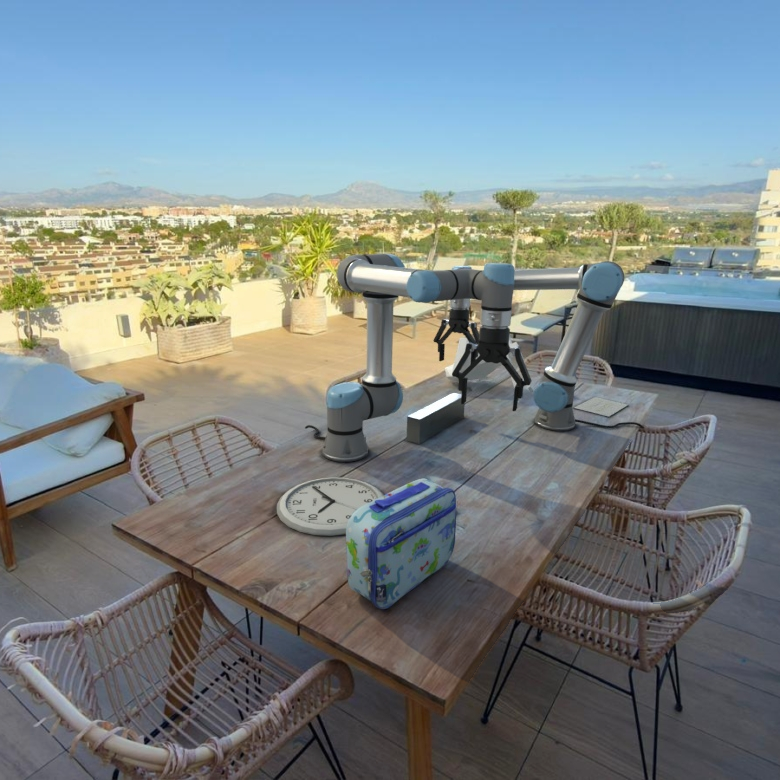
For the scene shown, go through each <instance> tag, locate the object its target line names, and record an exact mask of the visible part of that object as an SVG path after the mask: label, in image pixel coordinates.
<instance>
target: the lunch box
mask: <svg viewBox="0 0 780 780" xmlns="http://www.w3.org/2000/svg"><path fill="white" fill-rule="evenodd" d="M456 498H457V496H456V493H455V491H454V489H452V488H450V487H443V486H441V485H439V484H438V483H436V482H433V481H432V480H430V479H427V478H423V477H422V478H418V479H416V480H413V481H411V482H409V483H406V484H405V485H402V486H400V487H398V488H396V489H394V490H392V491H390V492H388V493H386V494H384V496H382V497H380V498H378V499H376V500H374V501H372V502H370V503H368V504H366V505H364V506H362V507H360V508H358V509H357V510H356V511H355V512H354V513H353V514H352V515H351V517H350V519H349V521H348V524H347V528H346V534H345V547H346V549H345V550H346V572H347V573H346V575H347V584H348V587H349V589H350V590H351V591H353V592H355V593H357V594H358V595H361V596H363V597H364V598H365V599H367V600H368V601H369V602H371V604H372V605H373V606H374V607H376V608H377V609H380V610H386V609H389V608H391V607H393V605H395V603H397V602H398V601H399V600H400V599H402V598H403V597H404V596H405V595H408V593H410V592H411V591H412V590H413V589H415V588H416V587H417V586H419V585H420V584H421V583H423V581H424V580H425V579H427V578H428V577H430V576H431V575H433V574H435V573H437V572H438V571H439V570H441V569H442V568H443V567H444V566H446V564H447V563H448V562H449V560H450V559H451V556H452V555H453V552H454V548H455V544H456V531H457V530H456V529H457V508H456V505H457V499H456Z"/></svg>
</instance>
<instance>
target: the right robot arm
mask: <svg viewBox="0 0 780 780" xmlns="http://www.w3.org/2000/svg"><path fill="white" fill-rule="evenodd" d="M454 268H468V269H473V268H472V266H470V265H469V266H468V265H454V266H453V267H452V268H451V270H452V269H454ZM514 281H515V284H514V290H513V291H540V290H541V291H547V290H554V291H555V290H578V292H577V294H576V299H577V306H576V308H575V311H574V313H573V315H572V318H571V320H570V322H569V324H568V327H567V329H566V332H565V334H564V336H563V339H562V341H561V343H560V345H559V348H558V350H557V352H556V354H555V357H554V359H553V361H552V364H551V365H548V366H546V367H545V368H544V371H543V374H542V375H541V378H540V380H539V383H538V384H537V385H536V387H535V388H534V389H533V390H534V392H533V401H534V403H535V405H536V406H537V407H538V410H537V411H536V413H535V417H534V424H535V425H536V426H537V427H539V428H542V429H544V430H549V431H556V432H567V431H572V430H574V429H575V428H576V423H580V424H585V425H588V426H589V425H590V426H593V427H599V428H604V429H614V428H617V427H619V426H627V425H633V426H638V427H639V428H640V429H645V427H644V426H643V424H641V423H639V422H635V421H625V422H623V421H622V422H618V423H616V424H613V425H607V424H600V423H594V422H590V421H587V420H582V419H576V418H575V417H576V416H575V413H574V407H573V405H574V398H575V389H576V384H577V382H578V380H577V379H578V377H577V376H578V375H577V372H578V369H579V367H580V365H581V362H582V361H583V358H584V357H585V355H586V352H587V350H588V348H589V345H590V343H591V341H592V339H593V337H594V334H595V332H596V330H597V329H598V326H599V324H600V322H601V319H602V317H603V315H604V313H605V312H607V311H609V310H611V309H612V307H613V305H614V303H615V300H616V298H617V296H618V294H619V292H620V290H621V288H622V287H623V285H624V283H625V272H624V270H623V268H622V267H621V265H619V264H618V263H616V262H614V261H611V260H610V261H608V260H606V261H600V262H597V263H588V264H587V263H586V264H582V265H581V266H579V267H558V268H555V267H554V268H531V269H529V268H528V269H515V272H514ZM470 307H471V299H456V300H449V312H448V313H449V314H448V318H449V319H447V318H444V319H441V322H440V326H439V327H438V330H437V332H436V334H435V336H434V338H433V339H432V340H433V343H435V344H437V353H439V354H438V362H443V361H445V349H446V348H445V347H446V346H445V345H446V344H445V341H446V340H447V339H448V338H449V337H450V336H451V334H462V335H463V336H464V337H466V338H467V340H468V341H469V342H472V343H473V344H477V345H478V343H479V330H478V323H477V322H476V321H475V322H470V311H471V310H470ZM447 326H449V328H448V329H447V330H446V328H447ZM445 330H446V331H445ZM444 331H445V333H444ZM471 333H472V334H471ZM477 357H478V351H477V349H474V351H473V352H471V364H472V363H473V362H474V361H475V360H476V358H477ZM471 364H470V365H471Z"/></svg>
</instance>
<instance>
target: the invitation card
mask: <svg viewBox="0 0 780 780" xmlns="http://www.w3.org/2000/svg"><path fill="white" fill-rule="evenodd" d="M628 406H629V404H627V403H623V402H618V401H614V400H609V399H605V398H601V397H596V396H593V397H592V398H590V399H588V400H586V401H584V402H582V403H580V404H578V405H575V406H574V407H573V409H575V410H581V411H584V412H587V413H593V414H596V415H600V416H604V417H608V418H609V417H611V416H613V415H614V414H616V413H617V412H619V411H621V410H623V409H624V408H626V407H628Z"/></svg>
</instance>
